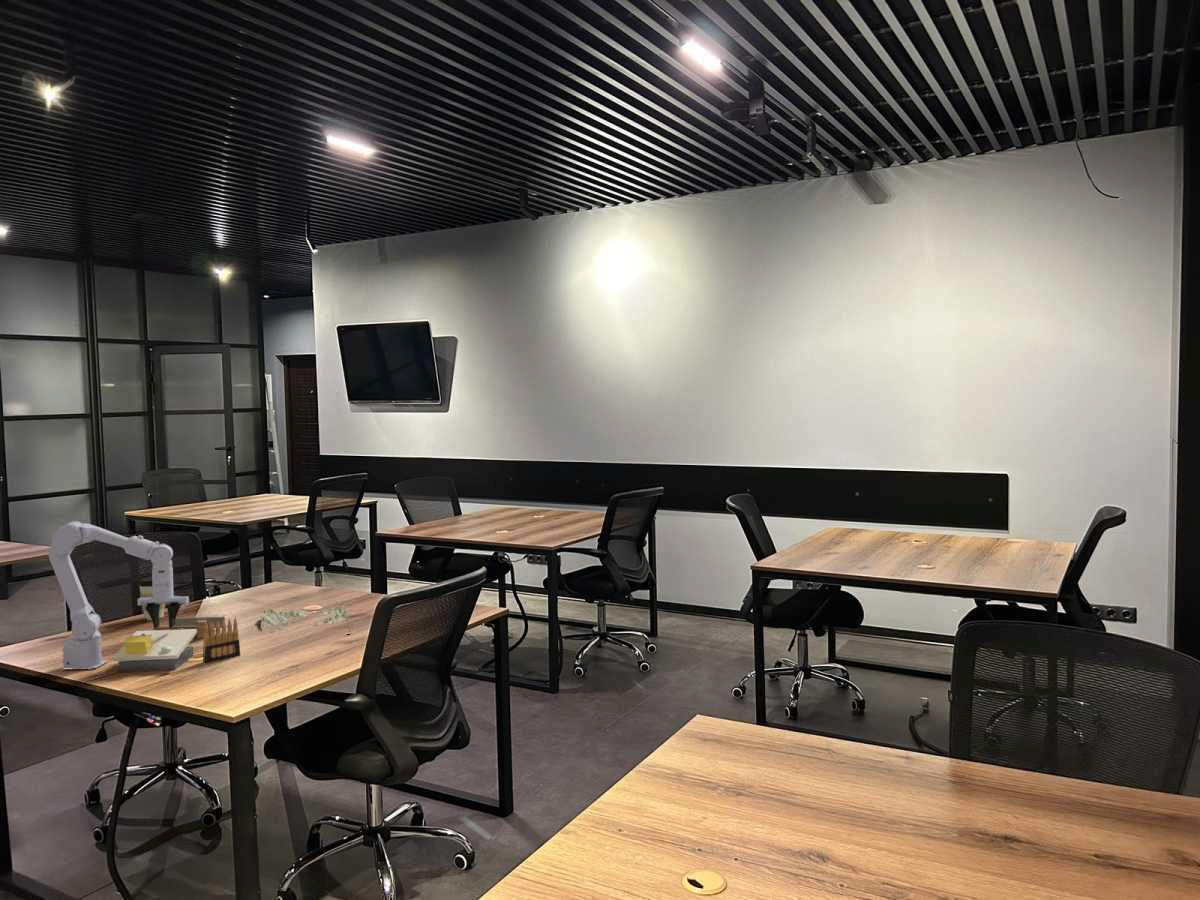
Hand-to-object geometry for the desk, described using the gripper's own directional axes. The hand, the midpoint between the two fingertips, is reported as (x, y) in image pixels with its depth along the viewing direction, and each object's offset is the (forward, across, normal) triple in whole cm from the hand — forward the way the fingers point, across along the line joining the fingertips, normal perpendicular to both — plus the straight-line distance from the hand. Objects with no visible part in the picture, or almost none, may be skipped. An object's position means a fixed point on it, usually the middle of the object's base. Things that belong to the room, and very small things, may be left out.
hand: (164, 626), depth 257 cm
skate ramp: (+11, +5, -26) cm, 29 cm away
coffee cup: (+10, +26, -55) cm, 62 cm away
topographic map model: (+11, -34, -34) cm, 49 cm away
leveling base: (+10, 0, +6) cm, 11 cm away
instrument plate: (+4, 0, +6) cm, 7 cm away
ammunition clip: (+10, -18, +3) cm, 21 cm away
